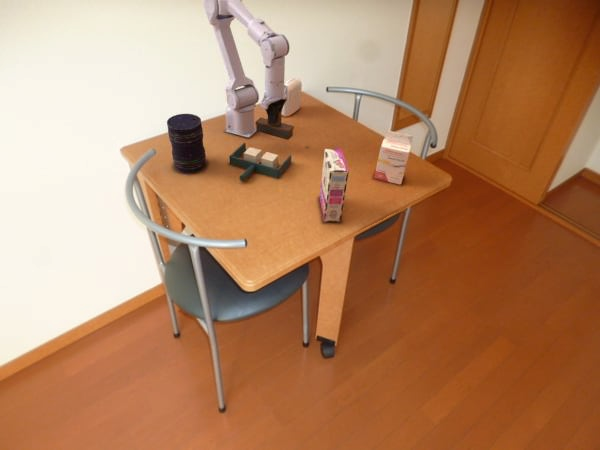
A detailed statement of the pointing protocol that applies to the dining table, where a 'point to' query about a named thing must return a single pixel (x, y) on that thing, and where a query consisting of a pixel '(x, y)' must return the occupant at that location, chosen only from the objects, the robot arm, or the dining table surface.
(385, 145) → the ink cartridge box
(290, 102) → the photo printer
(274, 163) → the cream white cube
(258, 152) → the beige cube
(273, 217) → the dining table surface
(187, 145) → the storage jar
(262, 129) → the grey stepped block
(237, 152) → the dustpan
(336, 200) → the candy bar box
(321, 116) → the dining table surface
